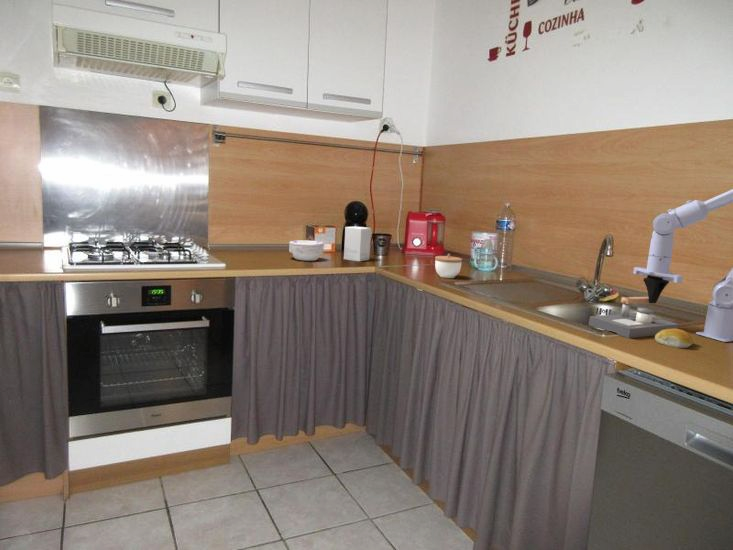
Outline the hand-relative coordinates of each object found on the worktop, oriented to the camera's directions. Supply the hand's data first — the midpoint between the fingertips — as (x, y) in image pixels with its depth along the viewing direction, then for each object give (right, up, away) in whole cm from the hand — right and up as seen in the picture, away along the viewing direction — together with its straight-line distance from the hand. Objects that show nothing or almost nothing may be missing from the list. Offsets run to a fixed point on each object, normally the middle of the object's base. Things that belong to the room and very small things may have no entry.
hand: (652, 302), depth 155 cm
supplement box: (-87, +15, +93) cm, 129 cm away
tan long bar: (-3, 0, +1) cm, 4 cm away
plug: (-5, -7, -5) cm, 10 cm away
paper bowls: (-109, +15, +84) cm, 139 cm away
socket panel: (-8, -7, -4) cm, 12 cm away
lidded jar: (-50, +7, +63) cm, 80 cm away
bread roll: (-3, -10, -17) cm, 20 cm away
